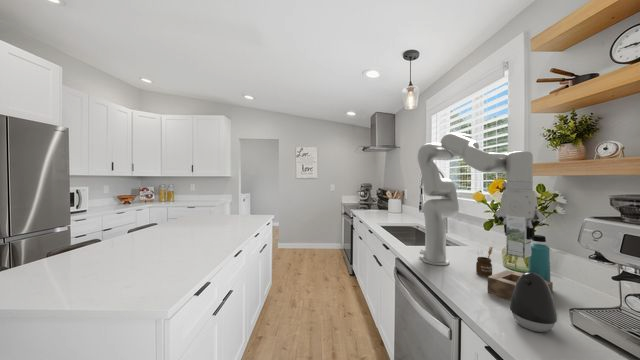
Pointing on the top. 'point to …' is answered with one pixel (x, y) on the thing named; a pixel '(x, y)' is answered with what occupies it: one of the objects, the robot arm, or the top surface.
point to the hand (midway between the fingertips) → (518, 236)
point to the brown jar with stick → (484, 265)
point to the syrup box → (517, 237)
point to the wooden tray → (506, 284)
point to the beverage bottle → (540, 258)
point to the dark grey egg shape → (533, 303)
